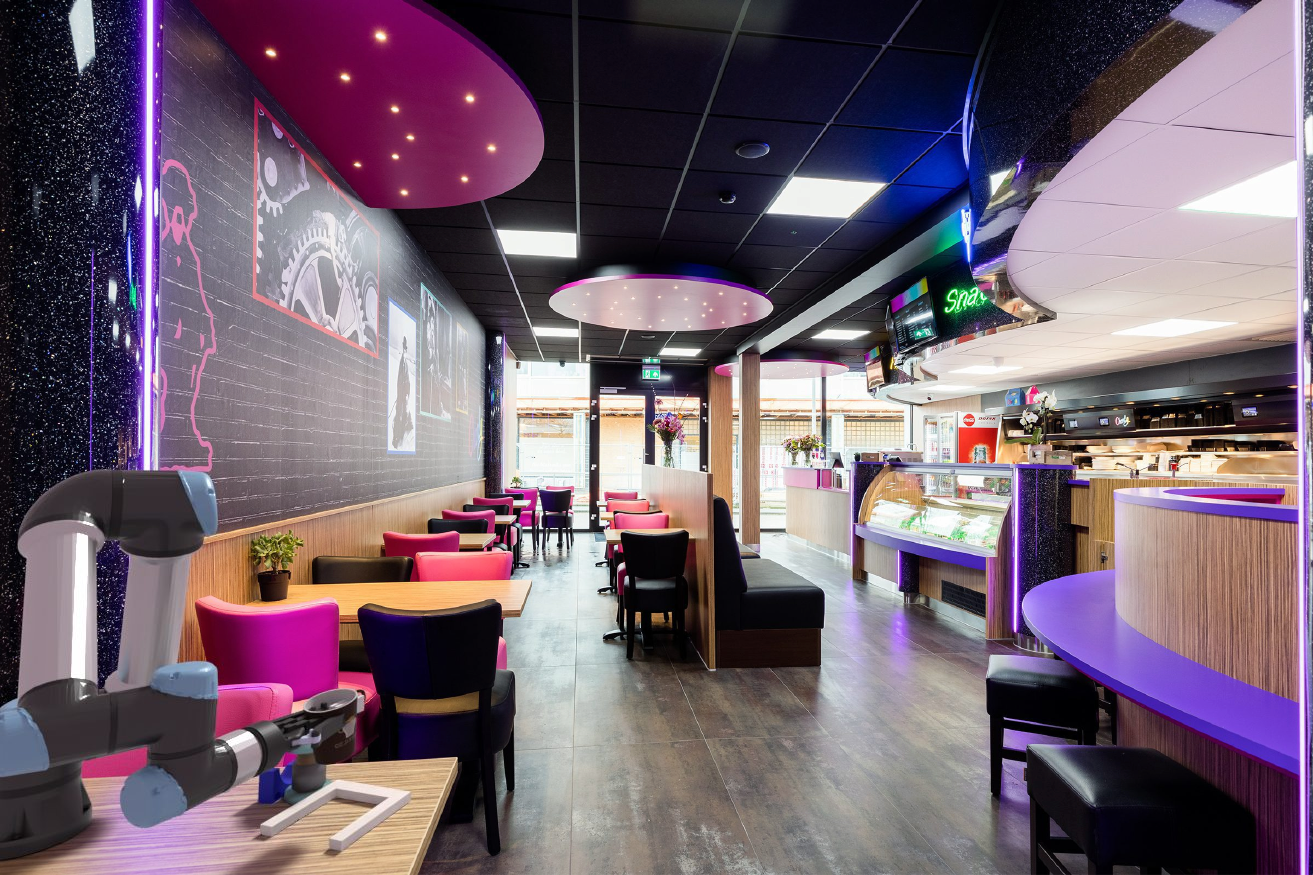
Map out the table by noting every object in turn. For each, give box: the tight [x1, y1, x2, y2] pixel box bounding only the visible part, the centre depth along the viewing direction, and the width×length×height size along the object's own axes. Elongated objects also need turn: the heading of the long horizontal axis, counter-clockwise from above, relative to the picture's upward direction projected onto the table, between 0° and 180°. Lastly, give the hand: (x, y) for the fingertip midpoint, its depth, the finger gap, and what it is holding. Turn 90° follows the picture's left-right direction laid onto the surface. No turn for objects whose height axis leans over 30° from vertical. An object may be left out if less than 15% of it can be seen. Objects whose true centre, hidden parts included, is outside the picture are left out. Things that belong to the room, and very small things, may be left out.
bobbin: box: [283, 744, 333, 805], centre depth 121 cm, size 8×8×10 cm
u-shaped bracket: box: [259, 779, 412, 852], centre depth 113 cm, size 17×17×2 cm
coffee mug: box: [302, 688, 367, 766], centre depth 113 cm, size 12×9×10 cm
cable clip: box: [257, 755, 297, 805], centre depth 123 cm, size 12×4×6 cm, turn 173°
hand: (359, 702), depth 118 cm, fingers closed on coffee mug
